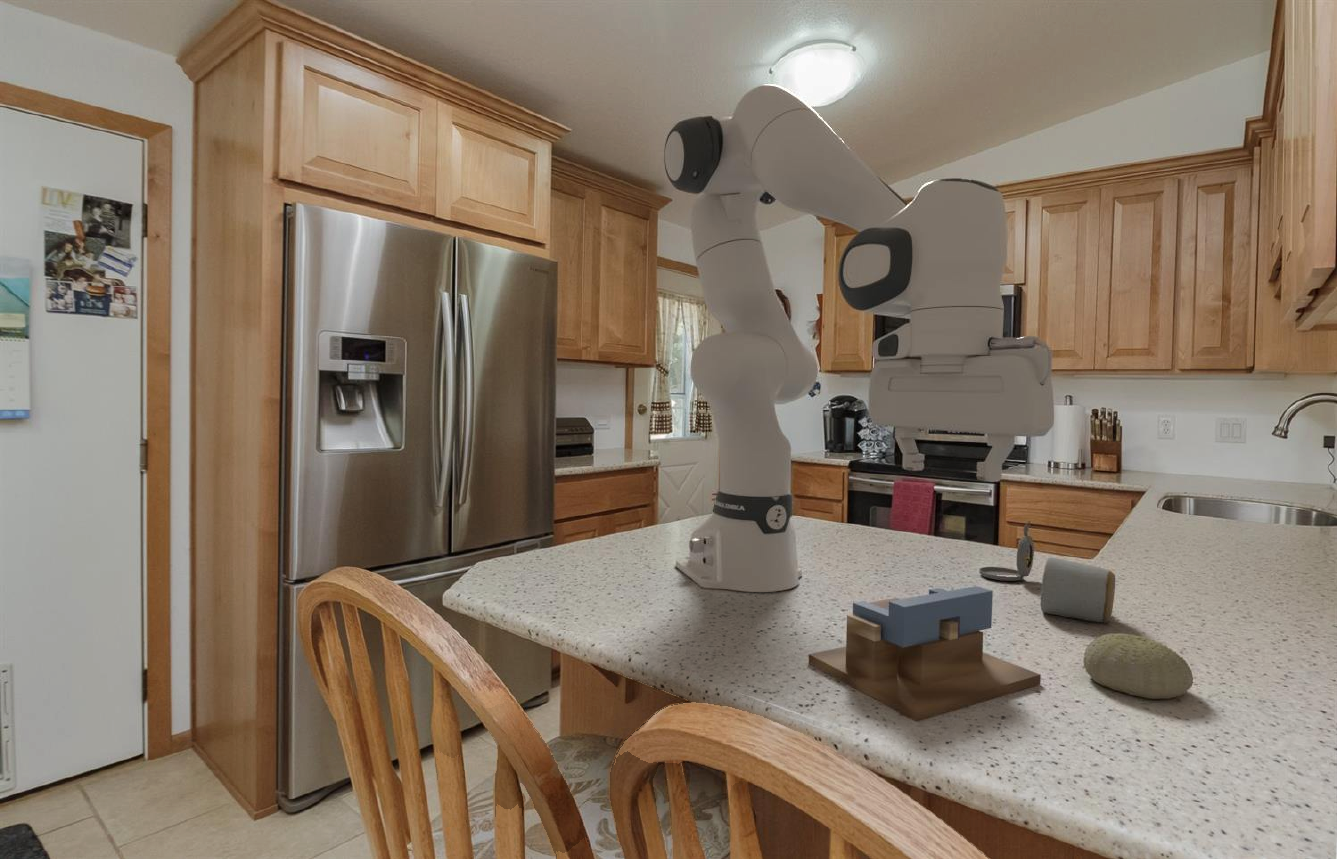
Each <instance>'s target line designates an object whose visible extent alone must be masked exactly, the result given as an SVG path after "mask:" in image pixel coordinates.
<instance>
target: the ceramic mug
mask: <svg viewBox="0 0 1337 859" xmlns="http://www.w3.org/2000/svg"><path fill="white" fill-rule="evenodd" d="M1115 589H1116V575H1115V573H1113V571H1111V570H1109V569H1106V568H1104V567H1101V566H1095V565H1092V564H1091V565H1090V564H1085V563H1079V562H1076V561H1070V560H1066V559H1062V558H1057V557H1053V556H1050V557H1048V558H1047V560H1046V561H1045V564H1044V568H1043V575H1042V581H1041V589H1040V591H1041V592H1040V602H1039V603H1040V609H1041V612H1042V613H1045V614H1049V613H1050V614H1052V615H1056V616H1061V617H1065V616H1066V617H1067V618H1071V617H1072V618H1073V619H1077V618H1078V620H1082V619H1083V621H1086V622H1087V621H1088V622H1092V621H1093V622H1094V623H1108V622H1109V621H1110V620H1111V618H1112V616H1113V608H1114V601H1115V593H1116V592H1115Z"/></svg>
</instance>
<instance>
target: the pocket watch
mask: <svg viewBox="0 0 1337 859" xmlns="http://www.w3.org/2000/svg"><path fill="white" fill-rule="evenodd" d="M1030 525H1031V520H1028V521H1026V522H1025V524H1024V526H1023V529H1022V531H1023V535H1022V537H1021V538H1020V540H1019V543H1018V546H1017V549H1016V550H1017V551H1016V569H1017V570H1016V569H1013V568H1008V567H1002V566H1000V567H999V566H985V567H980V568H979V571H978V572H979V574H980V575H981V576H983V577H985V578H988V579H992V580H996V581H1004V582H1016V581H1022V580H1023V579H1024V577H1028V576H1029V575H1030V574H1031V570H1032V568H1033V563H1034V556H1035V549H1034V547H1035V546H1034V540H1033V538H1032V536H1030V535H1028V531H1029V527H1030ZM997 575H1016V576H1017V577H1006V576H997Z"/></svg>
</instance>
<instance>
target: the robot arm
mask: <svg viewBox="0 0 1337 859" xmlns="http://www.w3.org/2000/svg"><path fill="white" fill-rule="evenodd" d="M663 152H664V154H663V162H664V163H663V164H664V169H665V170H664V171H665V173H666V176H667V179H668V180H669V182H670V183H671V185H672V186H673V187H674V188H675V189H676V190H678V191H681V192H684V193H687V194H688V193H689V194H694V195H698V194H699V195H698V197H697V198H696V199H695V201H693V204H692V206H691V209H690V231H691V232H690V233H691V242H692V247H693V254H694V259H695V263H696V268H697V271H698V277H699V281H700V286H701V289H702V293H703V298H704V301H705V302H704V303H705V306H706V308H707V311H708V312H709V314H710V315H711V316H712V317H713V318H714V319H715V320H717V322H718V323H719V324H720V325H721V327H722V329H724V331H725V332H721V333H717V334H713V335H709V336H707V337H706V338H703V340H701V341H700V342H699V344H698V345H697V346H696V347H695V349H694V351H693V354H692V356H691V360H690V376H691V380H692V382H693V385H694V387H695V389H696V390H697V392H698V393H700V395H702V397H703V398H704V399H705V401H706V402H707V405H708V406H709V408H710V409H709V410H710V411H711V415H712V417H713V420H714V421H713V422H714V424H715V427H716V431H717V438H718V446H719V490H718V491H717V492H716V493H715V492H714V493H711V496H716V497H714V498H713V497H712V498H711V501H714V504H713V507H712V512H713V513H712V514H711V515H710V516H709V517H708V518H706V520H705V521H704V522H703V523H701V524H700V525H699V526H698V527H697V528H696V529H695V530H694V531H692V533H691V536H690V540H689V541H688V542H689V543H688V546H689V555H688V556H684V557H681V558H678V559H676V560H675V565H674V566H675V567H676V568H678V570H680V571H681V572H682V573H684V575H686V576H688V577H689V578H690V579H691V580H693V581H694V582H695V583H696V584H698V585H699V586H700V587H702V588H704V589H719V590H720V589H723V590H724V589H725V590H731V591H740V592H749V593H750V592H752V593H769V592H779V591H785V590H786V591H787V590H790V589H792V588H795V587H797V586H798V585H799V583H800V580H799V578H800V577H801V576H802V575H803V573H802V572H803V571H802V568H801V567H799V566H798V552H797V541H796V540H797V538H796V527H795V526H794V524H792V522H791V517H792V516H793V515H794V514H793V512H794V511H793V510H794V509H793V508H794V500H793V498H794V496H793V493H791V472H792V471H791V469H792V468H791V464H792V463H791V462H792V458H791V457H792V447H791V443H790V441H789V439H788V438H787V436H786V435H785V434H784V433H783V431H782V428H781V426H780V424H779V420H778V417H777V413H776V406H775V405H785V404H788V403H792V402H795V401H796V400H798V399H801V398H803V397H805V396H806V395H808V394H809V393H810V392H811V391H812V390H813V388H814V386H815V384H816V381H817V378H818V363H817V360H816V358H815V355H814V353H812V352H811V350H810V349H809V348H808V347H807V346H806V345H805V344H804V343H803V341H802V340H801V339H800V337H799V336H798V334H797V332H796V330H795V328H794V327H793V326H794V325H793V324H792V323H791V320H790V319H789V317H788V314H787V313H786V310H785V309H784V307H783V305H782V303H781V301H780V299H779V296H778V294H777V292H776V288H775V286H774V283H773V278H772V275H771V272H770V268H769V264H768V260H767V259H768V258H767V256H766V253H765V248H764V245H763V241H762V236H761V233H760V230H759V226H758V222H757V216H756V212H757V207H758V205H759V204H758V203H759V202H760V203H761V204H763V205H771V204H773V203H774V202H776V201H778V202H779V203H780V204H782V205H783V206H784V207H787V208H789V209H792V210H795V211H799V212H801V213H804V214H809V215H812V216H815V217H820V218H823V219H827V220H830V221H834V222H835V223H836V222H837V223H839V224H842V225H844V226H847V227H849V228H851V229H853V230H855V231H857V232H859V233H857V234H856V235H855V236H854V237H852V239H851V240H850V241H849V242H848V244H847V245H846V247H845V248H844V250H843V252H842V255H841V257H840V261H839V265H838V270H837V271H838V273H837V274H838V275H837V278H838V279H837V280H838V286H839V289H840V293H841V295H842V298H843V299H844V301H845V302H846V303H847V305H849V307H851V308H852V309H854V310H857V311H860V312H862V313H866V314H869V315H876V316H877V315H878V316H886V317H891V318H898V319H899V318H901V319H906V320H907V319H908V320H909V322H907V323H904V324H903V325H901V326H900V327H898V328H897V329H895V330H893V331H890V332H889V333H887V334H885V335H883V336H881V337H879V338H877V339H876V340H875V341H873V343H872V345H871V356H872V358H873V359H875V360H878V361H877V362H876V363H875V364H874V365H873V367H872V369H871V373H870V380H869V387H868V416H869V417H870V420H871V422H872V424H873V425H875V426H877V427H878V426H880V427H891V428H892V427H893V428H894V439H895V440H896V443H897V444H898V447H899V449H900V452H901V454H902V463H901V464H902V465H901V466H902V469H903V470H908V471H912V472H913V471H915V472H916V471H923V470H924V468H925V463H924V461H925V456H926V455H925V454H924V453H923V454H922V453H919V452H920V451H919V449H918V447H917V443H916V440H915V438H918V437H919V429H920V430H932V431H945V432H957V433H958V432H959V433H960V432H961V433H973V434H975V433H976V434H986V435H987V442H986V443H987V444H986V445H987V447H988V446H989V447H991V449H990V450H989V452H988V454H987V456H986V458H985V460H984V461H977V462H976V471H977V472H976V479H977V480H978V481H982V482H983V481H984V482H990V483H995V482H996V483H998V482H1000V481H1001V479H1002V472H1003V464H1004V463H1005V461H1006V459H1007V458H1008V457H1009V456H1010V453H1011V452H1012V451H1013V450H1014V449H1015V448H1014V447H1015V442H1016V441H1015V439H1016V438H1015V437H1032V438H1033V437H1035V438H1037V437H1045V436H1047V434H1048V433H1049V432H1050V431H1051V429H1052V428H1053V427H1054V425H1055V407H1054V406H1055V403H1054V391H1053V381H1052V376H1051V374H1052V370H1053V369H1052V367H1053V352H1052V350H1051V348H1050V347H1049V346H1048V344H1047V343H1045V342H1044V341H1042V340H1039V338H1038V337H1037V336H1033V335H1024V336H1021V337H1003V336H1004V335H1003V333H1004V330H1003V329H1004V314H1005V312H1004V310H1005V306H1004V301H1003V298H1002V293H1001V292H1002V291H1001V289H1002V288H1001V285H1002V279H1003V277H1004V276H1003V275H1004V273H1005V271H1006V268H1007V257H1008V256H1007V254H1008V252H1007V250H1008V247H1007V246H1008V229H1007V228H1008V227H1007V226H1008V224H1007V213H1006V205H1005V200H1004V197H1003V195H1002V192H1001V191H1000V190H999V189H997V187H996V186H994V185H992V184H990V183H987V182H984V181H980V180H977V179H972V178H961V177H959V178H957V177H954V178H953V177H952V178H951V177H950V178H949V177H948V178H940V179H939V178H938V179H935V180H932V181H929V182H927V183H925V184H924V185H922V186H921V187H920V189H919V190H918V191H917V193H916V195H915V196H914V198H913V199H912V201H910V202H909V203H908V202H907V201H906V200H905V199H904V198H903V197H901V196H900V194H898V193H897V192H896V191H895V190H894V189H893V188H891V186H889V185H888V184H887V183H886V182H885V181H883V180H882V179H881V178H880V177H879V176H878V175H877V174H875V172H874V171H872V169H871V168H870V167H869V166H868V165H867V164H866V163H865V162H864V161H863V160H862V159H860V157H859V156H858V155H857V154H856V153H855V152H854V151H852V150H851V148H849V146H848V144H846V143H845V142H844V141H843V140H842V138H840V137H839V135H838V134H837V133H836V132H835V131H834V130H833V129H832V128H831V127H830V126H829V124H828V123H827V122H826V121H825V120H824V119H823V118H822V117H821V116H820V115H819V113H817V112H816V111H815V110H814V109H813V107H811V106H810V105H809V104H808V103H807V102H805V100H803V99H802V98H800V97H799V96H797V95H796V94H794V93H793V92H791V91H790V90H788V89H786V88H784V87H782V86H780V85H777V84H762V85H759V86H757V87H754V88H752V89H751V90H749V91H748V92H746V93H745V94H744V95H743V96H742V97H741V99H740V100H739V102H738V103H737V105H736V106H735V109H734V112H733V115H732V116H718V117H713V116H712V115H707V116H706V115H705V116H696V117H692V118H688V119H687V118H686V119H684V120H682V121H679V122H677V123H676V124H674V126H673V127H672V128H671V130H670V131H669V132H668V135H667V137H666V140H665V143H664V150H663ZM700 193H701V194H700ZM1038 345H1039V346H1040V347H1038Z"/></svg>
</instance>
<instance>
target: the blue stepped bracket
mask: <svg viewBox="0 0 1337 859" xmlns="http://www.w3.org/2000/svg"><path fill="white" fill-rule="evenodd" d="M993 593H994V592H993V590H991V589H988V588H984V587H981V586H977V585H974V586H970V587H965V588H964V587H963V588H959V589H953V590H951V589H950V590H945V589H942V588H940V587H936V588H931V589H930V588H929V589H928V594H924V595H919V596H912V597H907V598H901V599H900V598H899V599H900V600H895V601H889V610H887V609H884V608H881V607H878V606H876V605H873V604H870V602H869V601H868V602H867V601H865V600H862V601H856V602H855V601H854V602H852V614H854V615H856V616H859V617H861V618H864V619H866V620H868V621H871V622H873V623H876V624H878V625H881V638H882V639H884V640H887V641H889V642H891V643H894V644H896V645H898V646H901V647H903V648H904V647H908V646H913V645H917V644H922V643H926V642H931V641H935V640H939V625H940V620H943V619H949V620H952V621H955V622H958V635H962V634H967V633H971V632H976V631H984V630H989V629H992V626H993V624H992V623H993V622H992V620H993V619H992V618H993V595H994V594H993Z"/></svg>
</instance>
